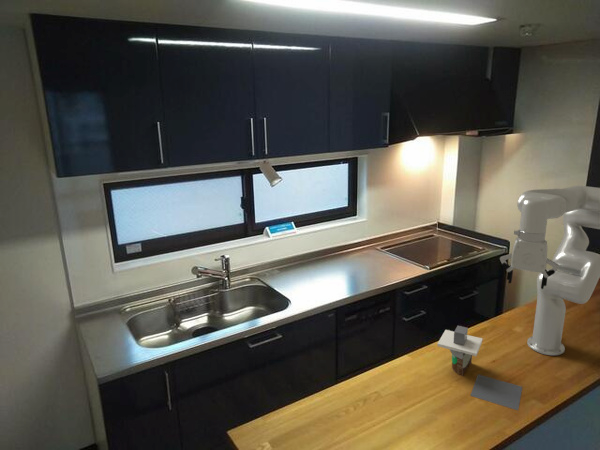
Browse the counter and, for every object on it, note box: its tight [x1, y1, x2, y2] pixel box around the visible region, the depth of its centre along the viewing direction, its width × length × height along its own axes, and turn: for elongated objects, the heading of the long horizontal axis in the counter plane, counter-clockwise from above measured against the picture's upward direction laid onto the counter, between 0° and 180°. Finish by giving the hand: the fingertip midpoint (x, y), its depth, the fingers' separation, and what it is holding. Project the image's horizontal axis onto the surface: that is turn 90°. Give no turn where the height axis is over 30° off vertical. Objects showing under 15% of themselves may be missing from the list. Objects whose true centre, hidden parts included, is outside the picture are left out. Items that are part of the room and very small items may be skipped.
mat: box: [470, 374, 523, 411], centre depth 140 cm, size 13×14×1 cm
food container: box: [449, 349, 473, 377], centre depth 152 cm, size 12×6×10 cm, turn 141°
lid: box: [436, 325, 484, 357], centre depth 150 cm, size 11×13×6 cm
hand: (525, 284), depth 142 cm, fingers open, 9 cm apart
